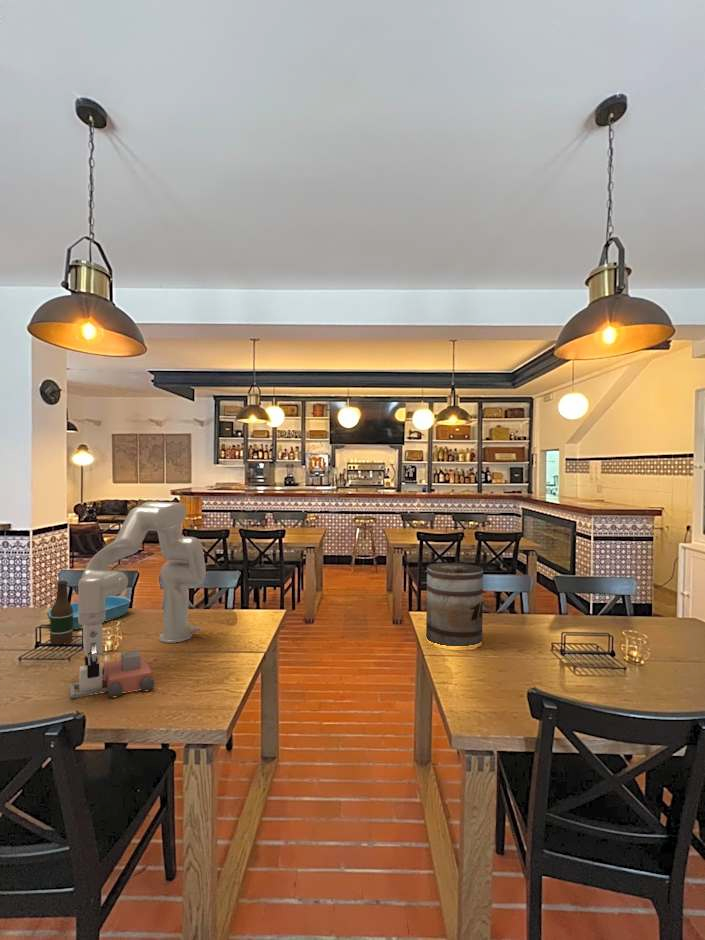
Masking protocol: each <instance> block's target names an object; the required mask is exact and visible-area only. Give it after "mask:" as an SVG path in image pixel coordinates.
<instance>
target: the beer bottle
mask: <svg viewBox="0 0 705 940" xmlns="http://www.w3.org/2000/svg"><path fill="white" fill-rule="evenodd" d="M56 585H57V588H56V589H57V590H56V599H55V602H54V604H53V605H52V607H51V614H50V621H49V641H50V642H51V643H52V644H64V643H68V642H70V641H71V642H72V641H73V636H74V634H73V631H74V630H73V609H72V606H71V603H70V601H69V599H68V598H69V597H68V581H67V580H59V581H57V582H56ZM50 642H49V643H50ZM71 642H70V643H71ZM51 643H50V644H51ZM52 644H51V645H52ZM68 644H69V643H68ZM64 645H65V644H64Z"/></svg>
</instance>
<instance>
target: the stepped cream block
mask: <svg viewBox="0 0 705 940" xmlns="http://www.w3.org/2000/svg"><path fill="white" fill-rule="evenodd" d="M78 679H79V680H78V681H79V682H78V683H79V688H78V689H79V690H80V691H79V692H84V691H89V690H94V689H100V688H103V684H102V679H103V673H102V666H100V665H99V676H98V677H93V678H88V677H87V665H86V666H85V665H80V666H79V678H78Z"/></svg>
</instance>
